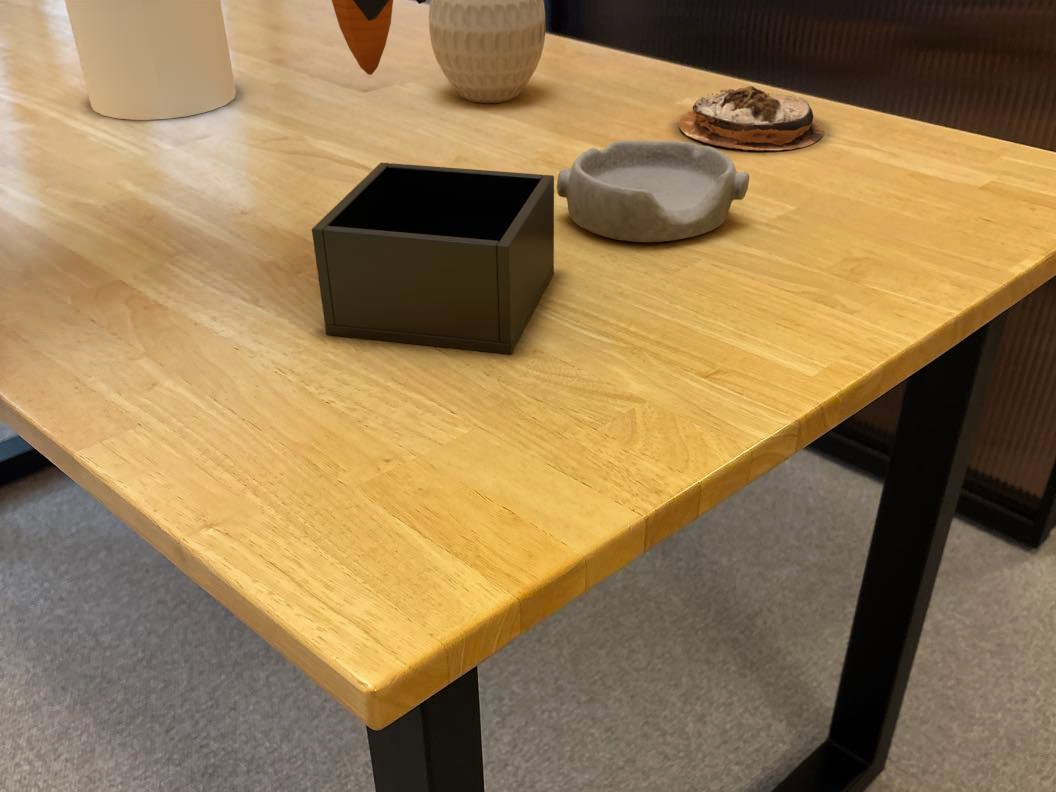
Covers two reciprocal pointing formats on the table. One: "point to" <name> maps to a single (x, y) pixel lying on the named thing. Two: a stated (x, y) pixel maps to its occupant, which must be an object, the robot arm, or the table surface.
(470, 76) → the vase
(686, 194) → the dish
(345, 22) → the carrot
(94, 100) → the canister
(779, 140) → the cake
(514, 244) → the black open box
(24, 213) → the table surface
